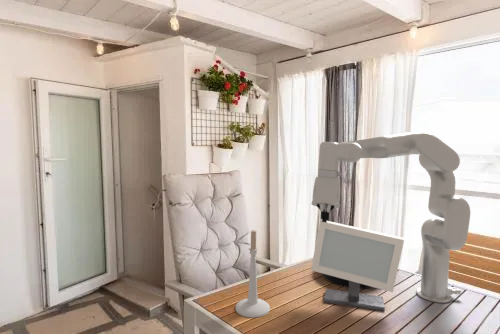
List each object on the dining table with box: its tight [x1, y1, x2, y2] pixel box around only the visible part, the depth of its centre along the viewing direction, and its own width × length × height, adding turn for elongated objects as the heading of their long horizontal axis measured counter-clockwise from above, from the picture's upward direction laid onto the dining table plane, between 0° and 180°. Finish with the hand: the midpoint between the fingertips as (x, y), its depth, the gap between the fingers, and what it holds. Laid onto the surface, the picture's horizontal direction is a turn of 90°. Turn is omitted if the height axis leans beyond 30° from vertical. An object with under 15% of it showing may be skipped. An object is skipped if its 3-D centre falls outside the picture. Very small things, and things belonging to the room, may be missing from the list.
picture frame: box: [310, 218, 405, 293], centre depth 125 cm, size 30×3×20 cm, turn 73°
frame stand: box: [323, 281, 386, 312], centre depth 129 cm, size 22×9×23 cm, turn 73°
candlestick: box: [235, 229, 271, 319], centre depth 122 cm, size 13×13×30 cm
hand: (324, 221), depth 128 cm, fingers closed
